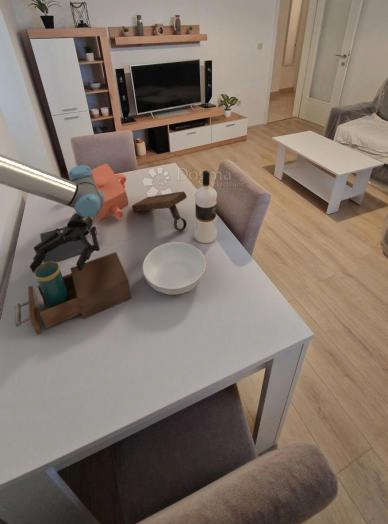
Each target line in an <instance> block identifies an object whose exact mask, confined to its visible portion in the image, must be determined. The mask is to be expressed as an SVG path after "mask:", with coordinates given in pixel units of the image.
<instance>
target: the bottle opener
mask: <svg viewBox="0 0 388 524" xmlns="http://www.w3.org/2000/svg"><path fill="white" fill-rule="evenodd" d="M187 198H188V197H187V193H186V192H185V191H177V192H170V193H165V194H158V195H152V196H148V197H146V198H144V199H142V200H139V201H137V202H136V203H134V204H132V205H131V208H132V211H133V212H140V211H151V210H160V209H161V210H162V209H169V211H170V213H171V214H170V215H171V216H172V218H173V228H174V229H175V231H177V232H182V231H184V230H186V228H187V226H188V224H187V223H188V222H187V220H186V219H185V218H184V217H181V215H180V212H179V210H178V208H177V204H179V203H180V202H182V201H184V200H186V199H187ZM179 220H181V221H182V223H183V224H182V227H181V229H180V228H179V226H178V221H179Z"/></svg>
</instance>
